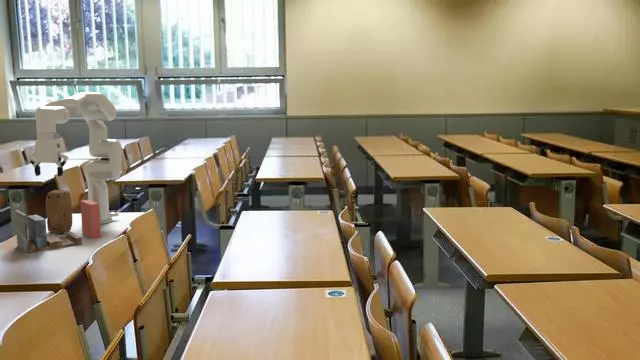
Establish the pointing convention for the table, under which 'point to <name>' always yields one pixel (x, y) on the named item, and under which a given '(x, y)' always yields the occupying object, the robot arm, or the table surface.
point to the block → (59, 211)
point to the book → (90, 219)
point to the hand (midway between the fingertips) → (49, 175)
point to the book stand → (40, 234)
